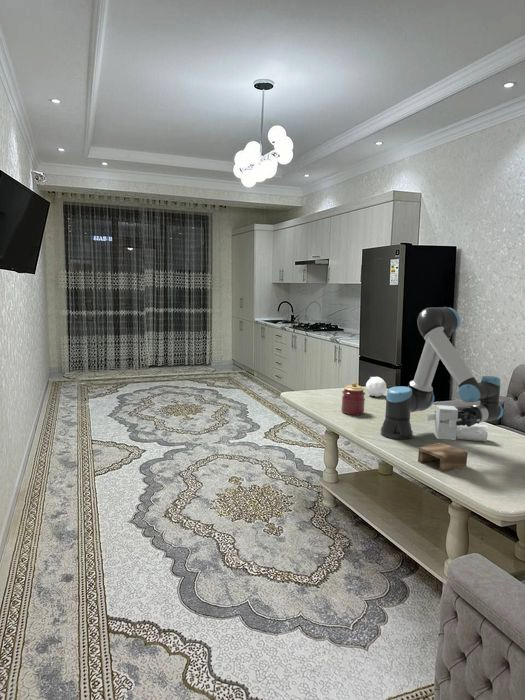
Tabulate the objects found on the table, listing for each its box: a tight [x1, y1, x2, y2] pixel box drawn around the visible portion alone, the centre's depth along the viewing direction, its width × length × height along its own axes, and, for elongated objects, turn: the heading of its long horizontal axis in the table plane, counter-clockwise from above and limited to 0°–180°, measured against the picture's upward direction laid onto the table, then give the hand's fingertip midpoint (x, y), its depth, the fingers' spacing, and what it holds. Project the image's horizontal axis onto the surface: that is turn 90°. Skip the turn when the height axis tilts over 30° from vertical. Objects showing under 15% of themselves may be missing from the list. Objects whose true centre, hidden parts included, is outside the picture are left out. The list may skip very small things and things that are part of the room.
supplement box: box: [433, 404, 459, 441], centre depth 199 cm, size 7×7×13 cm
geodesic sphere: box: [365, 375, 387, 398], centre depth 322 cm, size 14×14×14 cm
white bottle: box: [456, 423, 489, 443], centre depth 235 cm, size 8×19×8 cm, turn 76°
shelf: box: [417, 442, 469, 473], centre depth 201 cm, size 13×14×6 cm
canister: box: [341, 382, 366, 416], centre depth 278 cm, size 13×13×18 cm
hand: (438, 420), depth 197 cm, fingers closed on supplement box, 10 cm apart
